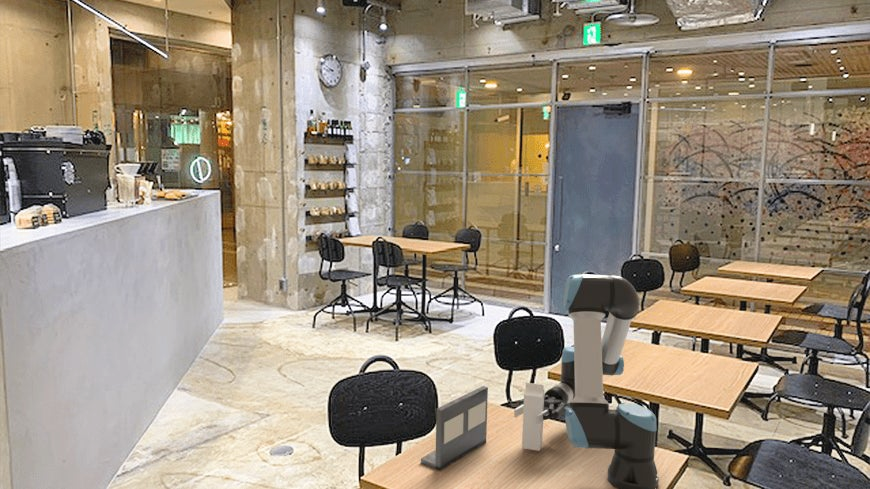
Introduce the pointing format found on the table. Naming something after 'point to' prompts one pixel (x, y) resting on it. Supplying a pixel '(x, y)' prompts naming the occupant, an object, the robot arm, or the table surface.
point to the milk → (532, 416)
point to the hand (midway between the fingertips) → (526, 416)
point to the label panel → (459, 428)
